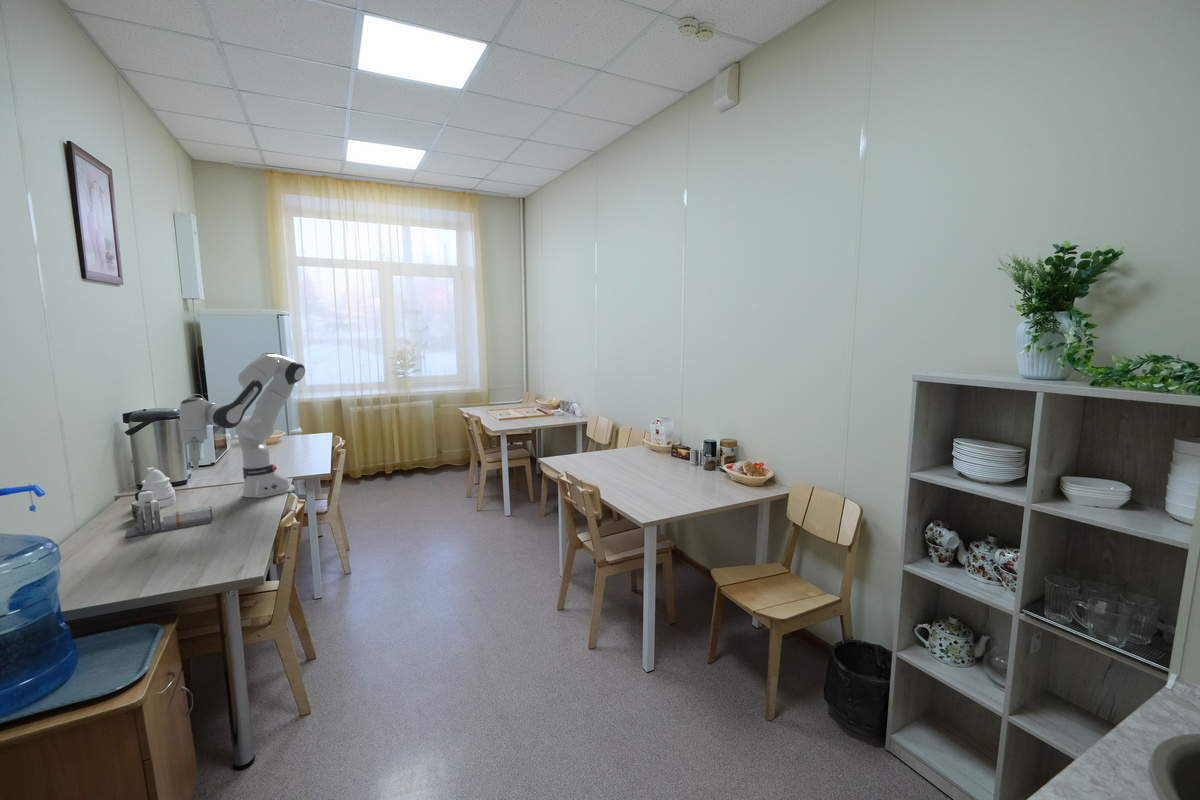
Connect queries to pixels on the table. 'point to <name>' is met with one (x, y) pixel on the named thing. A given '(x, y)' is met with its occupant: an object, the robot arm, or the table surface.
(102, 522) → the table surface
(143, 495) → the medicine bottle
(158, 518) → the rail
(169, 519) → the orange-striped grey block
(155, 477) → the honey pot
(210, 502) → the table surface
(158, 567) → the table surface
